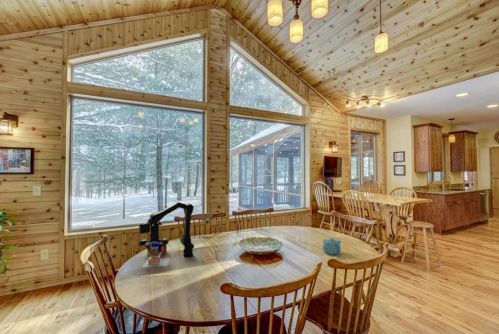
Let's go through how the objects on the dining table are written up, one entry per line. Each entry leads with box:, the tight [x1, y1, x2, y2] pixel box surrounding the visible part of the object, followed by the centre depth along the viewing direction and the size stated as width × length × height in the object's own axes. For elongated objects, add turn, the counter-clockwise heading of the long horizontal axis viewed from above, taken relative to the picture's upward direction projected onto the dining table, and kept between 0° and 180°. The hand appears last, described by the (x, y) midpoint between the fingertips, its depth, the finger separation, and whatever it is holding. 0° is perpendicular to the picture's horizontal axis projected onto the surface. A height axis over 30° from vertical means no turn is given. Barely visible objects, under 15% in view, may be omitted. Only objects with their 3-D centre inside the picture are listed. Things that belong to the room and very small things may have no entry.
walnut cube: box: [149, 247, 159, 257], centre depth 169 cm, size 5×5×5 cm
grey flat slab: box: [142, 257, 171, 268], centre depth 167 cm, size 16×14×1 cm
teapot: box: [322, 237, 342, 256], centre depth 191 cm, size 20×17×12 cm
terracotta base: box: [147, 255, 161, 264], centre depth 169 cm, size 7×7×3 cm
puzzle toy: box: [146, 241, 167, 256], centre depth 185 cm, size 10×10×10 cm
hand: (154, 253), depth 169 cm, fingers closed on walnut cube, 5 cm apart
